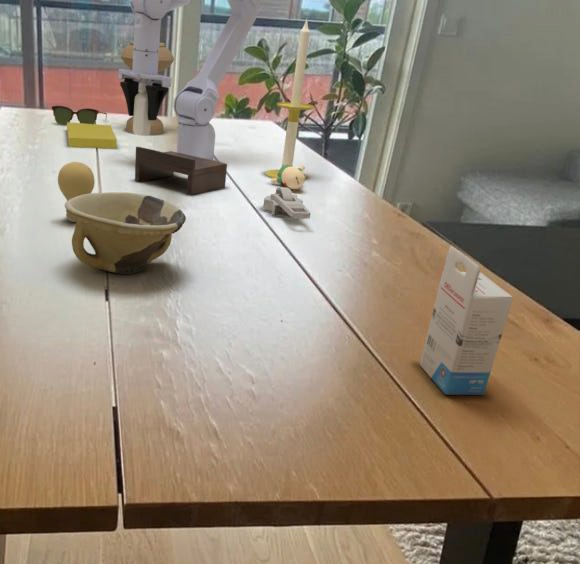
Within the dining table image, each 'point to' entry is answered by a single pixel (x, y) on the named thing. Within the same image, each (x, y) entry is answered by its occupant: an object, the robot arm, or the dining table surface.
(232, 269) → the dining table surface
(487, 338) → the ink box
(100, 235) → the bowl
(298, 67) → the candle
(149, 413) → the dining table surface
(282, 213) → the zipper pull
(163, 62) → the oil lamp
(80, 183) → the light bulb
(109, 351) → the dining table surface
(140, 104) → the eye dropper bottle
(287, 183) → the toy figurine
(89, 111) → the sunglasses
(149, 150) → the shelf
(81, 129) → the flat olive board
